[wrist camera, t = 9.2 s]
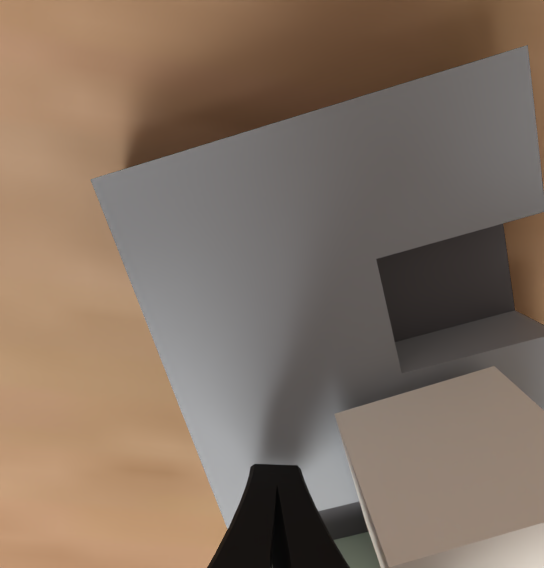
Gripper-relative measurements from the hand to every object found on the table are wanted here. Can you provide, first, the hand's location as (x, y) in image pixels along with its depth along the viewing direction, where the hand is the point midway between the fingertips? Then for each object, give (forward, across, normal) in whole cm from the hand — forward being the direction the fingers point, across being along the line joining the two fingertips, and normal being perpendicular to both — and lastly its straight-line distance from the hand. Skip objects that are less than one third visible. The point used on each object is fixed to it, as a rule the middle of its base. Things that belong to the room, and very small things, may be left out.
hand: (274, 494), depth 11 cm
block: (+1, -4, -1) cm, 5 cm away
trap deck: (+3, -3, -1) cm, 5 cm away
